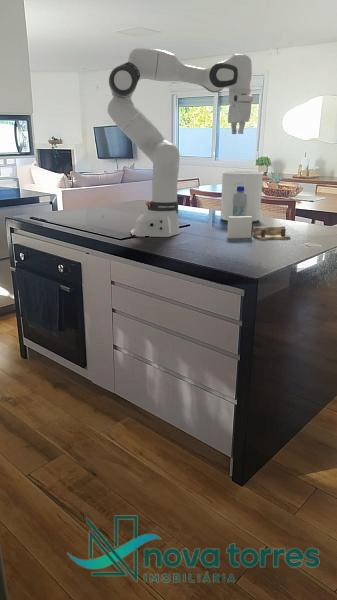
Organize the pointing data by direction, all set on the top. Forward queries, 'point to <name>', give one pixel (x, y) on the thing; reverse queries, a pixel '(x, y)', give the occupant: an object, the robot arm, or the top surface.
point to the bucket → (251, 187)
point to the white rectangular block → (239, 227)
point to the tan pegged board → (270, 233)
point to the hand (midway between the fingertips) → (237, 134)
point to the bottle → (239, 202)
